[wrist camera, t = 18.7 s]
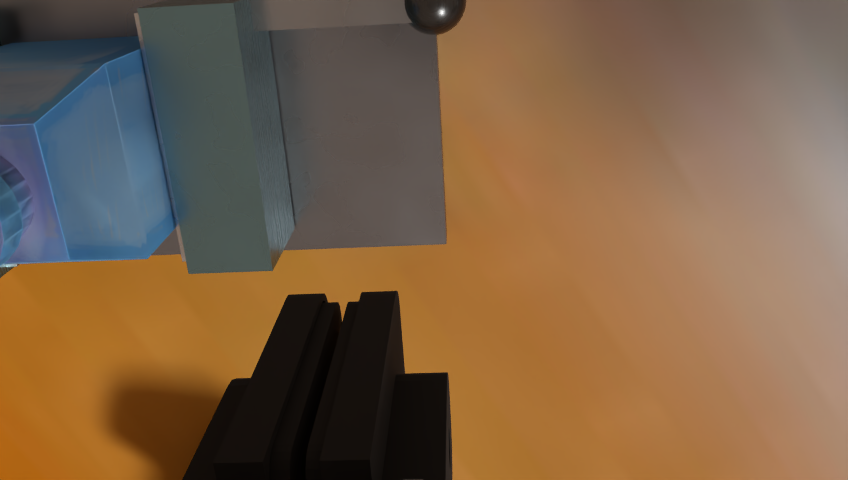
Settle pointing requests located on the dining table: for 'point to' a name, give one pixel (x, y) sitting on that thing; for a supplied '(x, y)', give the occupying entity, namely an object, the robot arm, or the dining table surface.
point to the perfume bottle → (79, 154)
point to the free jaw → (239, 114)
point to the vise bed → (318, 121)
